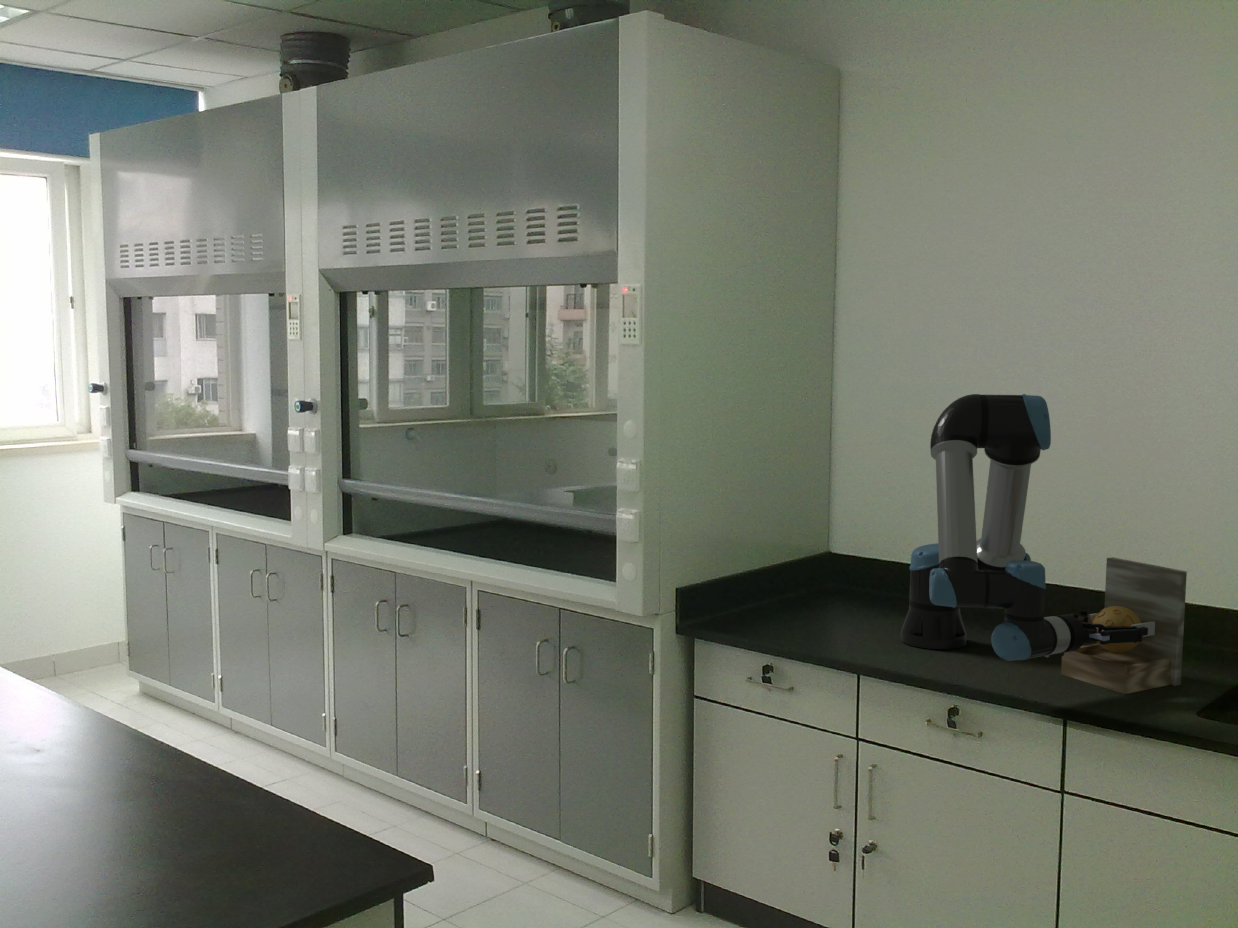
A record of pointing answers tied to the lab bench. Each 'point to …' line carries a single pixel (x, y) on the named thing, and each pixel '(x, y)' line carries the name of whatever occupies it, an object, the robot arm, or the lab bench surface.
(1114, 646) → the stress ball
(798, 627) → the lab bench surface
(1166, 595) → the ledge stand
